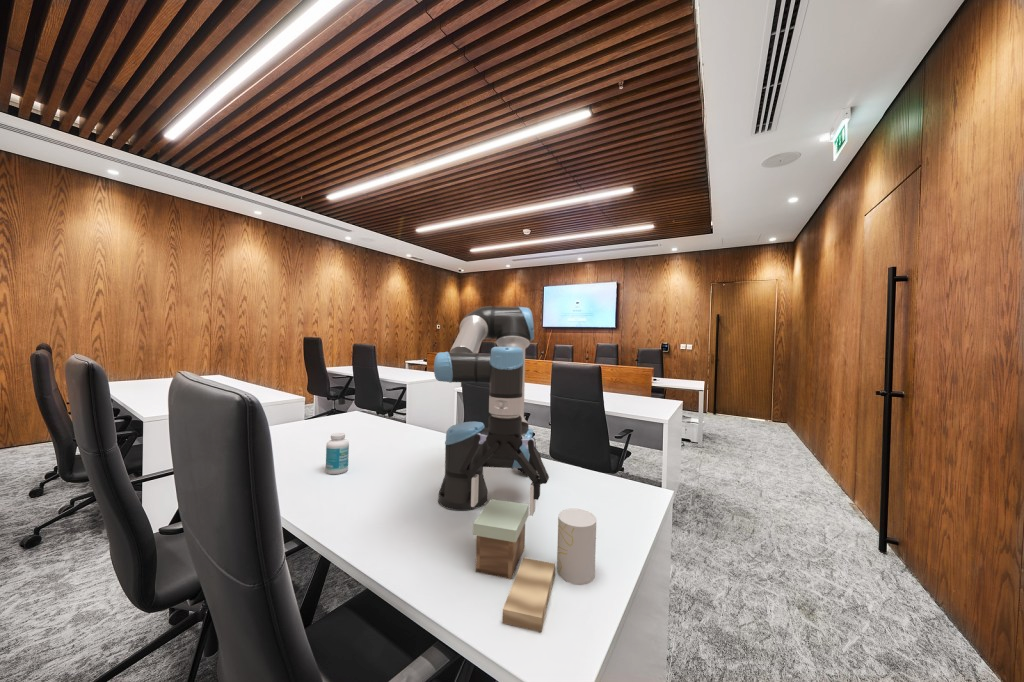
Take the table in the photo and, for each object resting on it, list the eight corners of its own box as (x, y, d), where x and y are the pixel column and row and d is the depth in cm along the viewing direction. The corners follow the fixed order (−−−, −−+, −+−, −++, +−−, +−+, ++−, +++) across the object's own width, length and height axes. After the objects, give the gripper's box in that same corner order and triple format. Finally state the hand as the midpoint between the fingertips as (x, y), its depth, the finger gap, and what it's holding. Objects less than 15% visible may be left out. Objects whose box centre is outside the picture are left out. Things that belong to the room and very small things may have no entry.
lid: (515, 546, 77) (516, 530, 77) (472, 538, 80) (473, 523, 80) (528, 518, 89) (528, 504, 89) (490, 512, 92) (491, 499, 92)
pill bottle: (342, 475, 131) (343, 437, 131) (321, 474, 131) (322, 436, 131) (351, 468, 139) (352, 432, 139) (332, 467, 139) (332, 431, 139)
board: (541, 632, 64) (541, 617, 64) (502, 623, 66) (502, 609, 66) (554, 575, 80) (555, 563, 80) (522, 569, 81) (523, 557, 81)
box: (511, 579, 78) (512, 541, 78) (475, 571, 80) (476, 535, 80) (524, 547, 90) (525, 514, 89) (492, 542, 92) (493, 510, 91)
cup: (553, 561, 85) (555, 508, 84) (588, 560, 85) (590, 508, 85) (561, 585, 77) (562, 527, 76) (599, 583, 77) (601, 526, 77)
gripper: (447, 413, 84) (444, 507, 84) (558, 422, 77) (555, 524, 77) (460, 408, 91) (458, 494, 91) (562, 416, 85) (560, 509, 85)
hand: (502, 508), depth 84 cm, fingers open, 13 cm apart
